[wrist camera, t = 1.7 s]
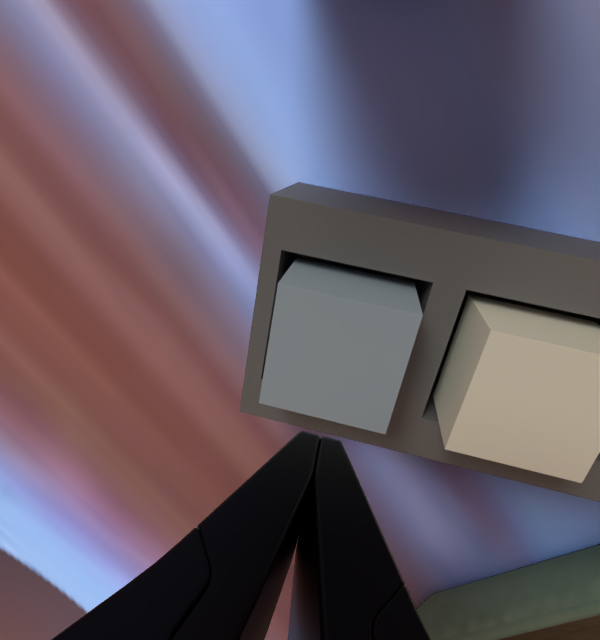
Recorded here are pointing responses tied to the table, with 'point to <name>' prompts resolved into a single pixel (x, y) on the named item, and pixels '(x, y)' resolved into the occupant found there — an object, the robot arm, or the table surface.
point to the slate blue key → (340, 344)
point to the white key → (522, 389)
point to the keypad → (421, 299)
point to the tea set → (522, 603)
